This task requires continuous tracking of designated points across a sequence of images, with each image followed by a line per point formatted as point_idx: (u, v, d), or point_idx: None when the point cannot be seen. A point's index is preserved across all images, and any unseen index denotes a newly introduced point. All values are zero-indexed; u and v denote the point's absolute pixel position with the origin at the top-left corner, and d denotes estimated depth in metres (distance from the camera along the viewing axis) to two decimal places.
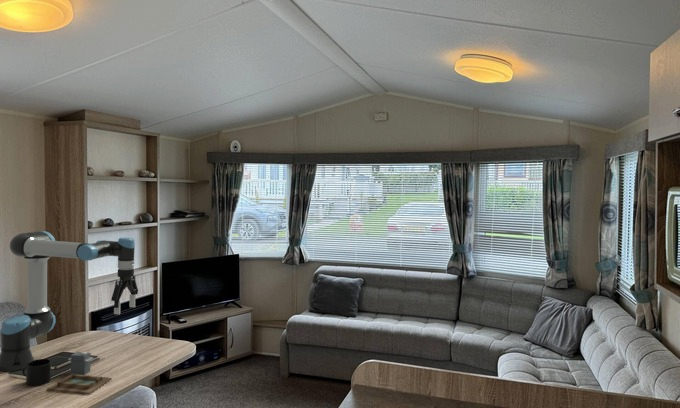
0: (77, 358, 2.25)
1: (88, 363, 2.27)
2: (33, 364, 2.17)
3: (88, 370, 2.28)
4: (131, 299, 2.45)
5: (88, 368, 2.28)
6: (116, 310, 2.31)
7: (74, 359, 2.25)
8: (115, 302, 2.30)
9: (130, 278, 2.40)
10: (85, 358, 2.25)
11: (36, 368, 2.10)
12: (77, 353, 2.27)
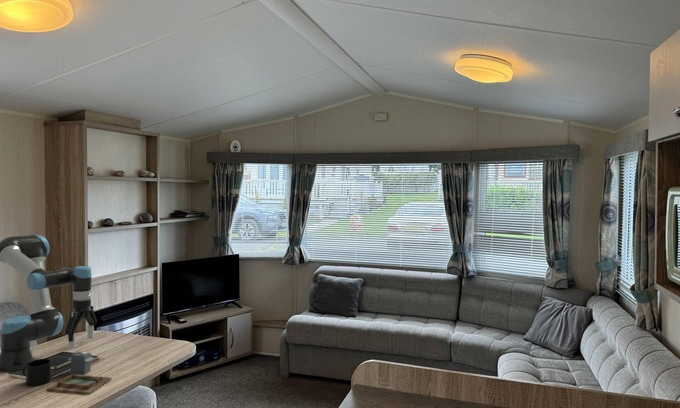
0: (77, 358, 2.25)
1: (88, 363, 2.27)
2: (33, 364, 2.17)
3: (88, 370, 2.28)
4: (89, 330, 2.33)
5: (88, 368, 2.28)
6: (71, 344, 2.19)
7: (74, 359, 2.25)
8: (69, 335, 2.18)
9: (87, 309, 2.29)
10: (85, 358, 2.25)
11: (36, 368, 2.10)
12: (77, 353, 2.27)
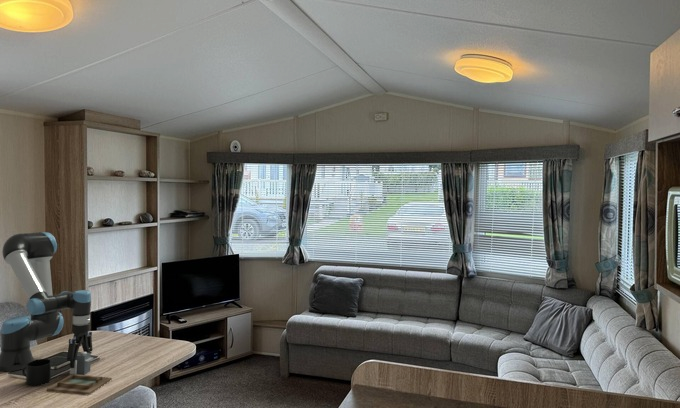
0: (77, 358, 2.25)
1: (88, 363, 2.27)
2: (33, 364, 2.17)
3: (88, 370, 2.28)
4: None
5: (88, 368, 2.28)
6: (72, 370, 2.22)
7: None
8: (71, 362, 2.20)
9: (86, 333, 2.29)
10: (85, 358, 2.25)
11: (36, 368, 2.10)
12: None
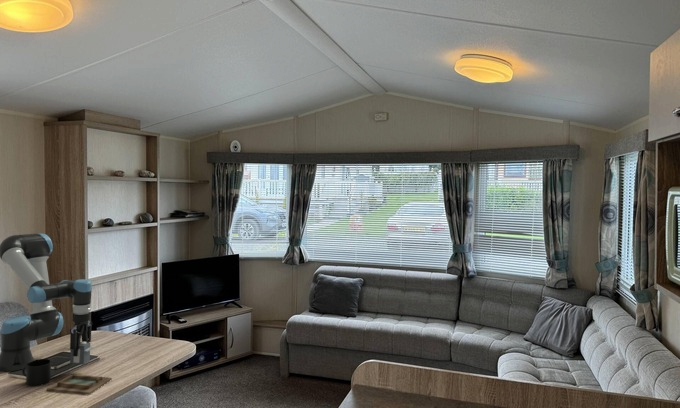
0: None
1: (87, 353, 2.27)
2: (33, 364, 2.17)
3: (87, 360, 2.28)
4: None
5: (87, 358, 2.28)
6: (75, 358, 2.24)
7: None
8: (74, 350, 2.23)
9: (87, 321, 2.29)
10: (85, 348, 2.25)
11: (36, 368, 2.10)
12: None
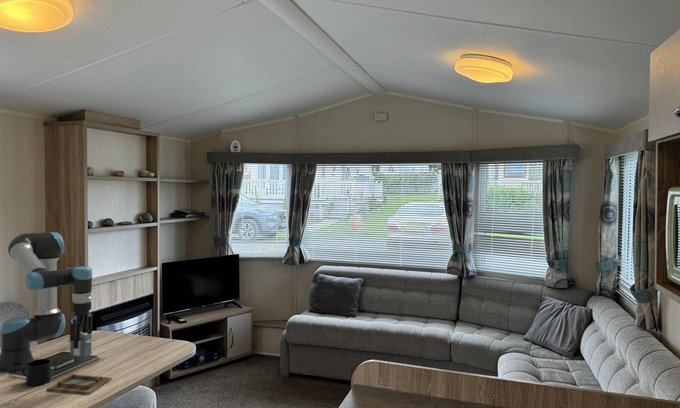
0: None
1: (89, 345, 2.13)
2: (33, 364, 2.17)
3: (89, 352, 2.13)
4: None
5: (89, 350, 2.13)
6: (76, 351, 2.10)
7: None
8: (74, 342, 2.08)
9: (87, 311, 2.15)
10: (86, 339, 2.11)
11: (36, 368, 2.10)
12: None
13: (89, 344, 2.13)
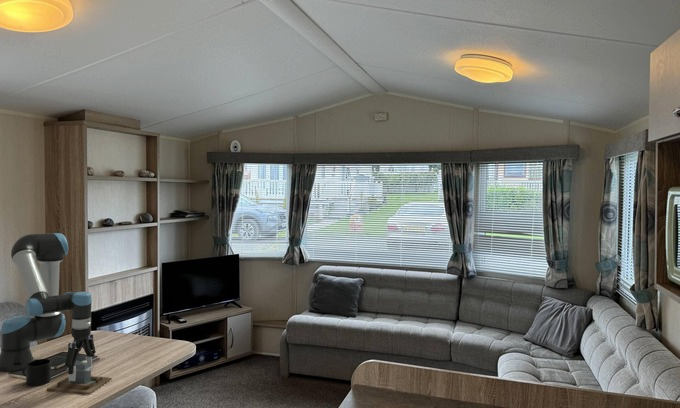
0: (77, 367, 2.11)
1: (88, 372, 2.14)
2: (33, 364, 2.17)
3: (88, 380, 2.14)
4: None
5: (88, 378, 2.14)
6: (71, 376, 2.07)
7: None
8: (69, 368, 2.06)
9: (87, 337, 2.15)
10: (85, 367, 2.11)
11: (36, 368, 2.10)
12: (77, 362, 2.14)
13: (89, 372, 2.14)
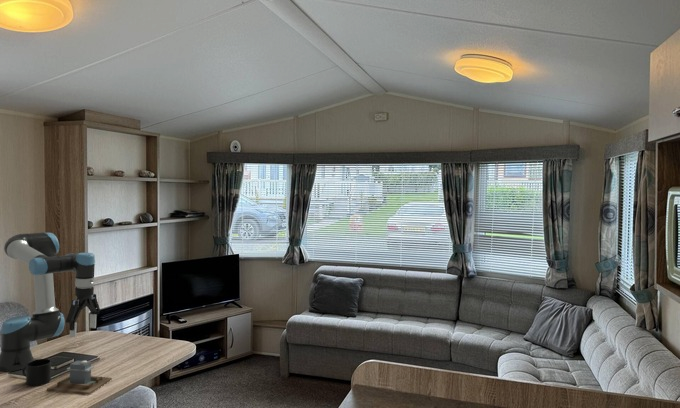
0: (77, 367, 2.11)
1: (88, 372, 2.14)
2: (33, 364, 2.17)
3: (88, 380, 2.14)
4: (92, 319, 2.25)
5: (88, 378, 2.14)
6: (72, 333, 2.11)
7: (73, 368, 2.11)
8: (70, 324, 2.10)
9: (90, 297, 2.20)
10: (85, 367, 2.11)
11: (36, 368, 2.10)
12: (77, 362, 2.14)
13: (89, 372, 2.14)
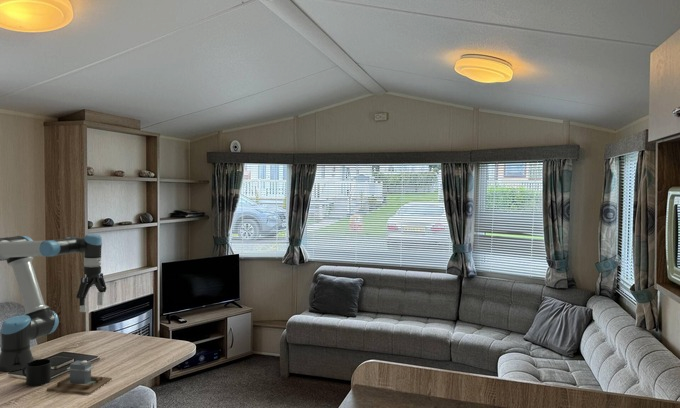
0: (77, 367, 2.11)
1: (88, 372, 2.14)
2: (33, 364, 2.17)
3: (88, 380, 2.14)
4: (99, 297, 2.42)
5: (88, 378, 2.14)
6: (82, 308, 2.28)
7: (73, 368, 2.11)
8: (80, 300, 2.27)
9: (97, 275, 2.37)
10: (85, 367, 2.11)
11: (36, 368, 2.10)
12: (77, 362, 2.14)
13: (89, 372, 2.14)
